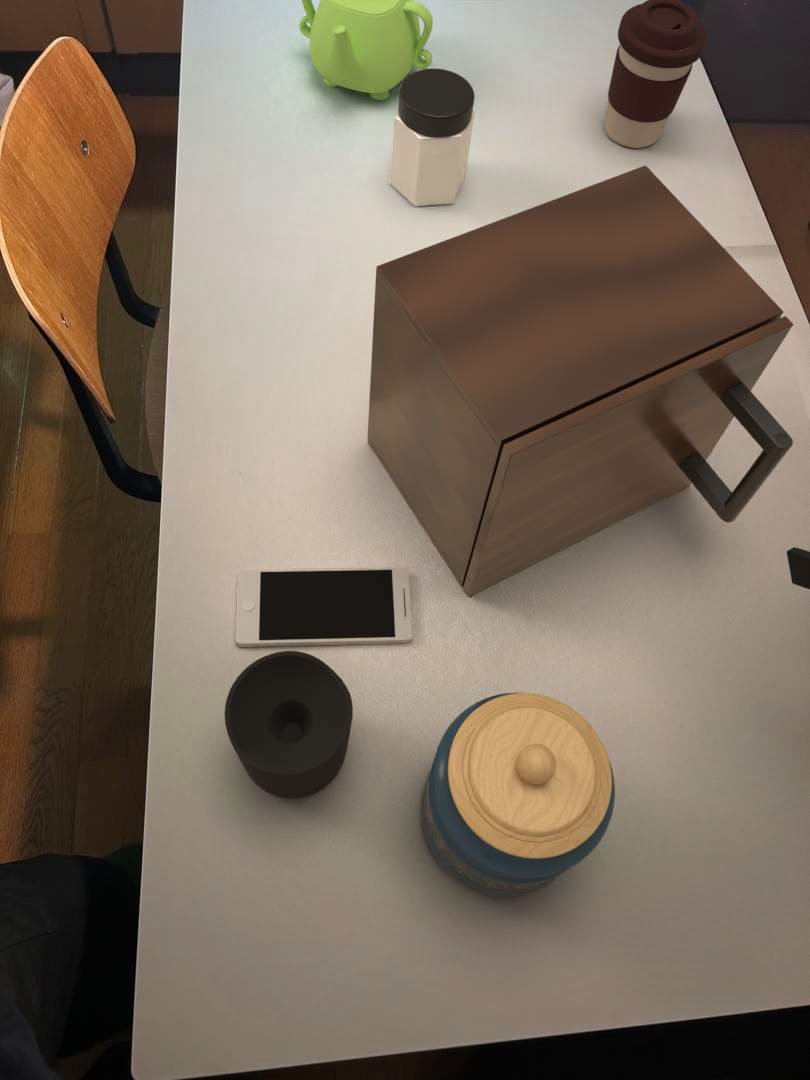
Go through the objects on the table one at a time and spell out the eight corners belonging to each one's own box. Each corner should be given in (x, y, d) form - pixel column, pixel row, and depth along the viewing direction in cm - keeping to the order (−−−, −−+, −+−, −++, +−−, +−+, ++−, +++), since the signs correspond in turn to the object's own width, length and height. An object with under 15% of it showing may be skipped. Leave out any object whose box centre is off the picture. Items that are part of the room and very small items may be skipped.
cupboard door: (733, 538, 90) (854, 388, 69) (508, 659, 82) (566, 532, 62) (684, 477, 93) (785, 315, 72) (462, 589, 85) (503, 444, 64)
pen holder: (351, 693, 80) (353, 651, 71) (350, 804, 76) (352, 773, 67) (241, 693, 80) (229, 650, 71) (233, 805, 75) (220, 774, 66)
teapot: (441, 107, 117) (453, 9, 106) (333, 127, 114) (333, 28, 102) (397, 29, 124) (404, -71, 112) (294, 45, 120) (290, -56, 109)
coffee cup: (585, 104, 119) (616, -13, 105) (660, 103, 120) (700, -13, 107) (601, 158, 114) (635, 43, 101) (678, 156, 115) (723, 42, 102)
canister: (508, 937, 72) (556, 909, 56) (386, 818, 75) (399, 762, 60) (608, 812, 77) (677, 755, 61) (489, 706, 80) (525, 627, 65)
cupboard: (682, 476, 93) (784, 311, 72) (460, 587, 86) (501, 440, 64) (580, 349, 100) (645, 164, 79) (366, 442, 92) (376, 266, 71)
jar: (457, 156, 113) (470, 65, 102) (471, 204, 109) (485, 114, 98) (384, 160, 111) (389, 69, 101) (395, 209, 108) (402, 119, 97)
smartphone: (238, 573, 85) (237, 569, 84) (408, 570, 86) (408, 566, 85) (236, 647, 81) (235, 643, 80) (412, 643, 83) (413, 639, 82)
